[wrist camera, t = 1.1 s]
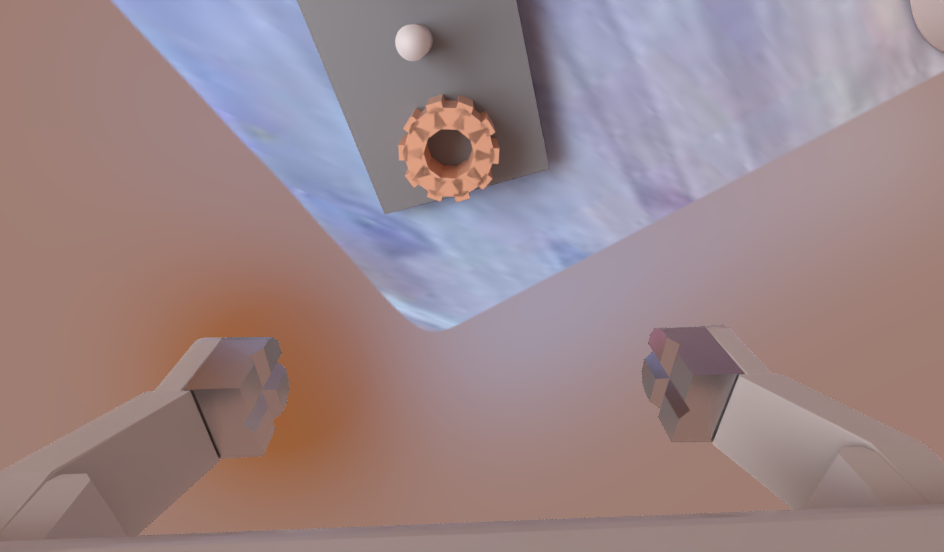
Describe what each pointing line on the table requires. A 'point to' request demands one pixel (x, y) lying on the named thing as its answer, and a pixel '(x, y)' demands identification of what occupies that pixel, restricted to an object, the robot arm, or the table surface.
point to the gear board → (428, 81)
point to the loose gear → (448, 177)
